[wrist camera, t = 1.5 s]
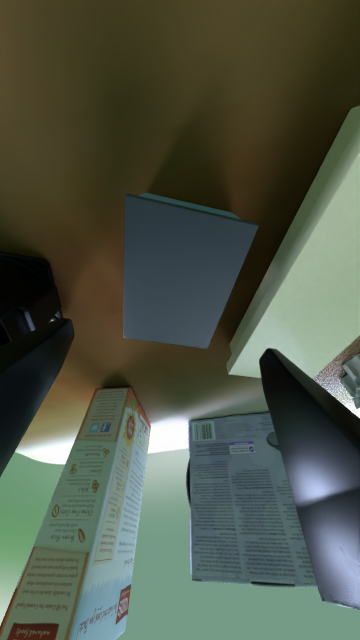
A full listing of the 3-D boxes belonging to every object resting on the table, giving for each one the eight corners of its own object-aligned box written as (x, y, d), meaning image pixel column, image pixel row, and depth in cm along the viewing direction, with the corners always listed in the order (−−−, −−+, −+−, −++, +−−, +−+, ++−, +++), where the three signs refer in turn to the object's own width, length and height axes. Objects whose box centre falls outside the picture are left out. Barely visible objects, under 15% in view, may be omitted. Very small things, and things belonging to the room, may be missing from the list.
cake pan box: (187, 431, 38) (192, 581, 24) (181, 420, 34) (182, 585, 21) (287, 420, 34) (360, 586, 21) (290, 407, 31) (377, 592, 18)
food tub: (135, 302, 18) (123, 337, 14) (142, 188, 13) (124, 194, 9) (201, 312, 19) (207, 349, 15) (236, 210, 13) (259, 225, 9)
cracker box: (93, 387, 28) (-35, 696, 11) (132, 384, 27) (59, 702, 11) (121, 426, 36) (73, 635, 20) (151, 425, 36) (127, 636, 19)
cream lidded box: (221, 345, 22) (228, 374, 19) (342, 93, 10) (417, 55, 7) (289, 355, 23) (306, 384, 20) (474, 137, 11) (592, 123, 8)
